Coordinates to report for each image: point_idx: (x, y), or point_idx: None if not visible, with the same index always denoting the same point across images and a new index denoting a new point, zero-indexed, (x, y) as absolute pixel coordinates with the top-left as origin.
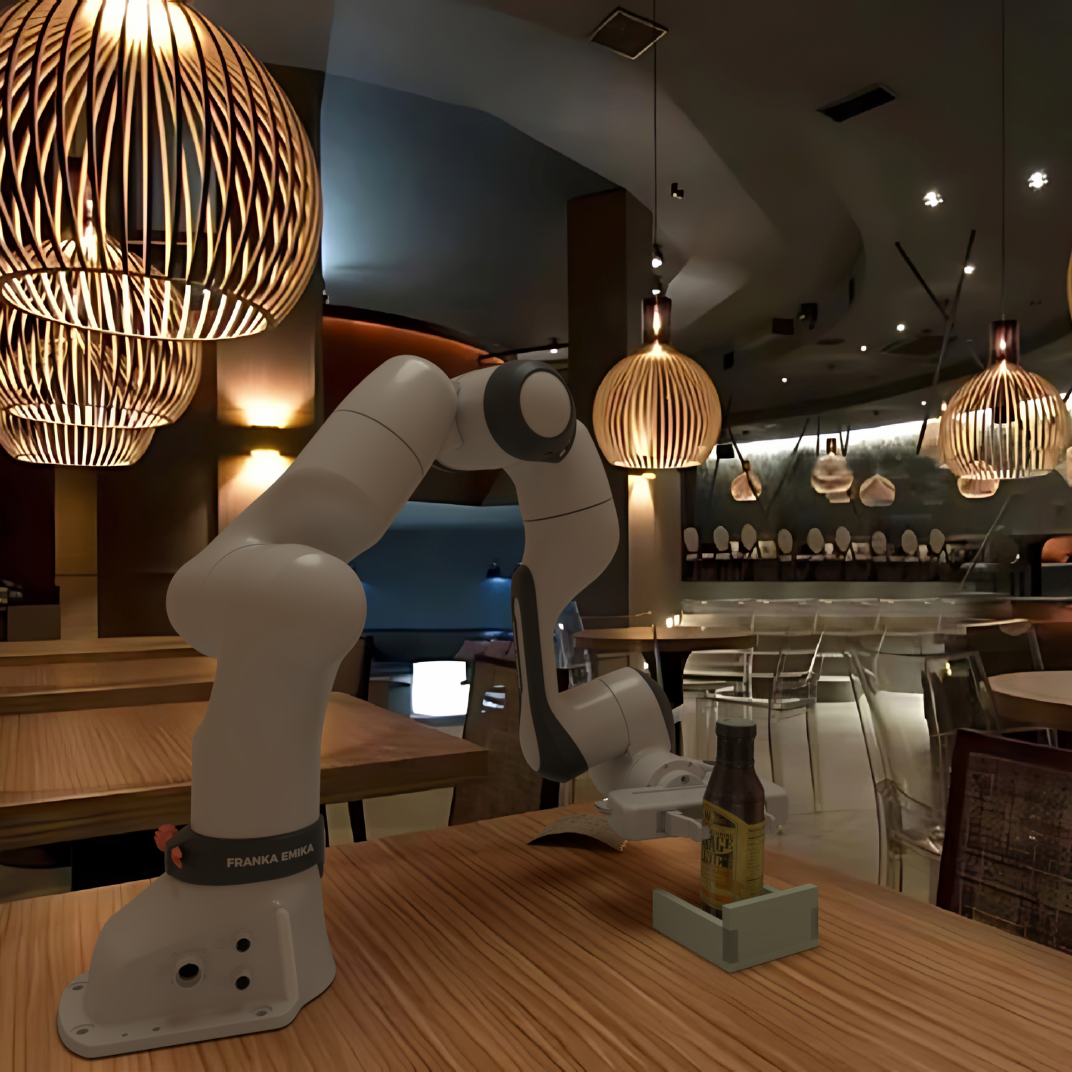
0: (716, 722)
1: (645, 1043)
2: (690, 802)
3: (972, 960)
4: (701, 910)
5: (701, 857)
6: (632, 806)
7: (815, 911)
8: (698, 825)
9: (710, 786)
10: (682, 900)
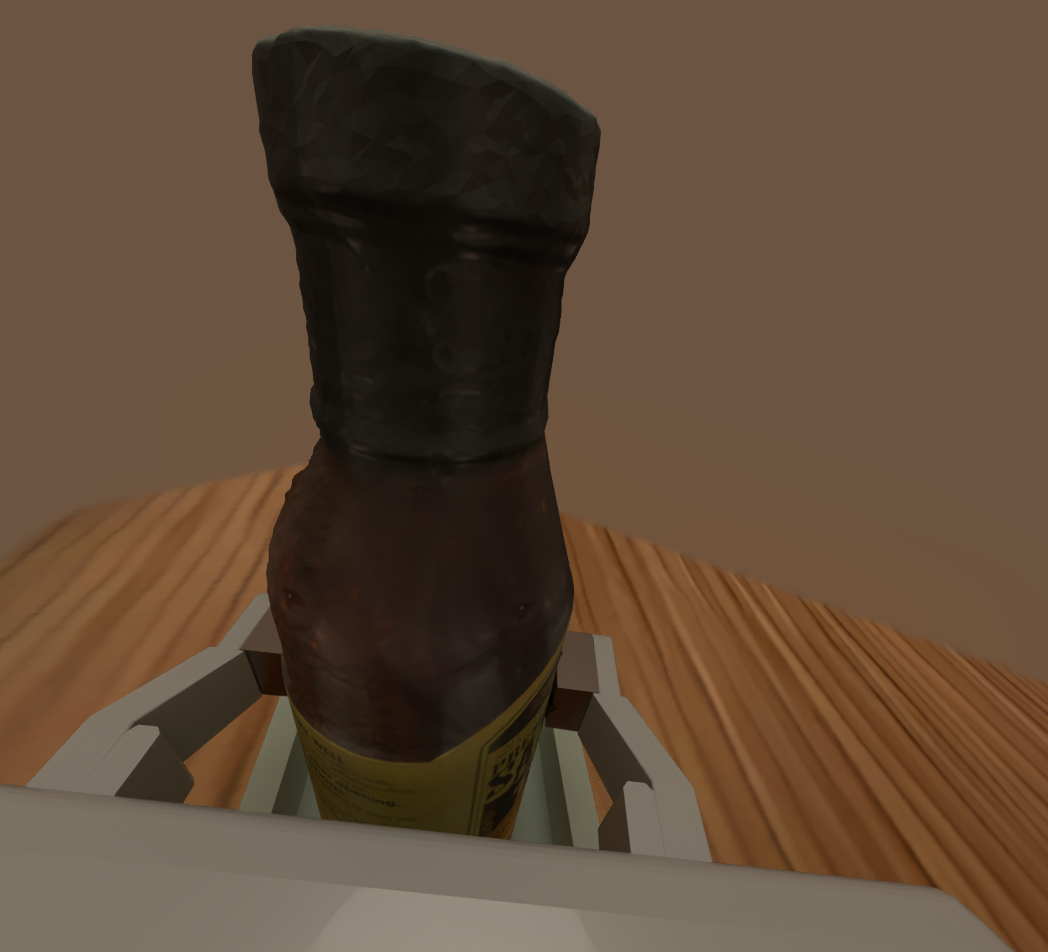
0: (592, 124)
1: (721, 593)
2: (539, 850)
3: (179, 551)
4: (558, 744)
5: (527, 777)
6: (979, 928)
7: None
8: (605, 636)
9: (562, 545)
10: (575, 841)
